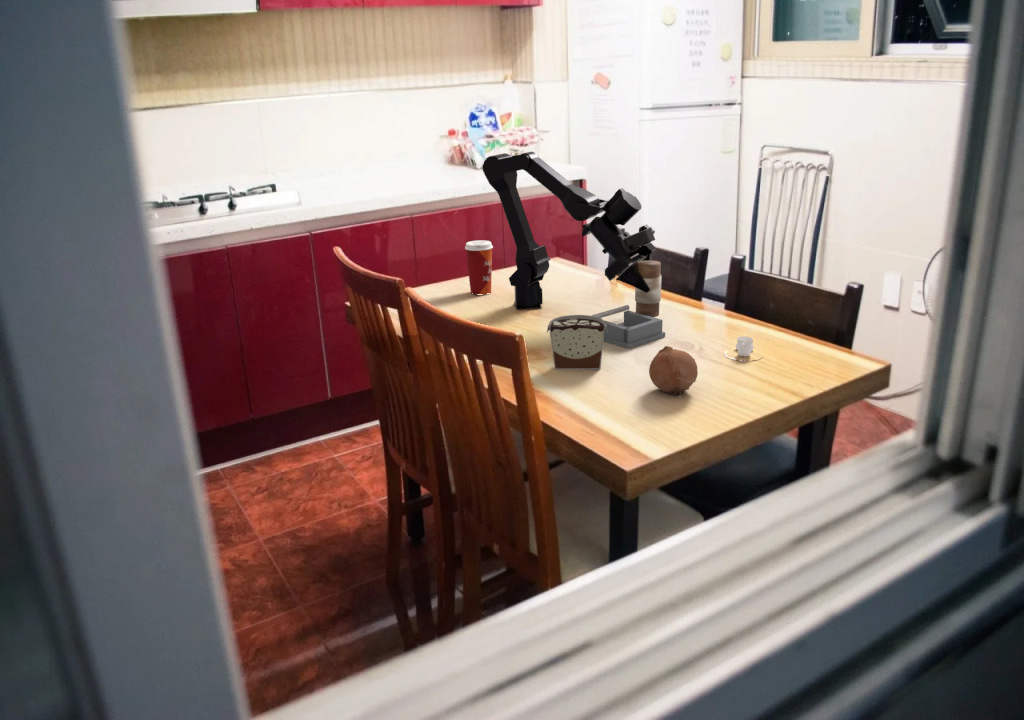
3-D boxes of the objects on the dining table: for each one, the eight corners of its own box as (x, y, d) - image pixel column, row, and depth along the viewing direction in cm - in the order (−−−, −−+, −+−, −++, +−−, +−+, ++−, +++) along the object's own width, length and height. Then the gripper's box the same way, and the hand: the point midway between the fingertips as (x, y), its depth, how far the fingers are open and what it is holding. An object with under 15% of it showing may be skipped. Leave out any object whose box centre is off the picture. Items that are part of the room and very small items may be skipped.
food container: (607, 359, 176) (607, 313, 172) (607, 369, 170) (607, 322, 167) (549, 359, 177) (548, 314, 174) (547, 369, 171) (546, 323, 168)
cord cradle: (589, 336, 190) (589, 314, 188) (626, 325, 197) (627, 304, 196) (628, 349, 181) (628, 326, 180) (665, 336, 188) (666, 314, 187)
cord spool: (638, 318, 196) (639, 266, 191) (632, 311, 201) (633, 260, 197) (663, 317, 196) (664, 265, 192) (656, 310, 202) (658, 259, 197)
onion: (657, 400, 162) (644, 352, 162) (702, 388, 160) (690, 340, 160) (655, 401, 153) (642, 351, 153) (703, 389, 151) (690, 338, 152)
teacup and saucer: (738, 347, 181) (740, 329, 180) (772, 355, 176) (773, 337, 175) (716, 357, 176) (717, 339, 174) (750, 366, 170) (751, 347, 169)
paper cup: (494, 296, 225) (492, 245, 221) (466, 297, 226) (463, 246, 221) (495, 288, 233) (493, 239, 228) (468, 289, 233) (465, 240, 228)
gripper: (617, 222, 185) (663, 276, 183) (649, 209, 200) (691, 258, 198) (585, 254, 191) (629, 306, 190) (618, 238, 207) (659, 286, 205)
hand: (653, 288), depth 196 cm, fingers closed on cord spool, 6 cm apart
